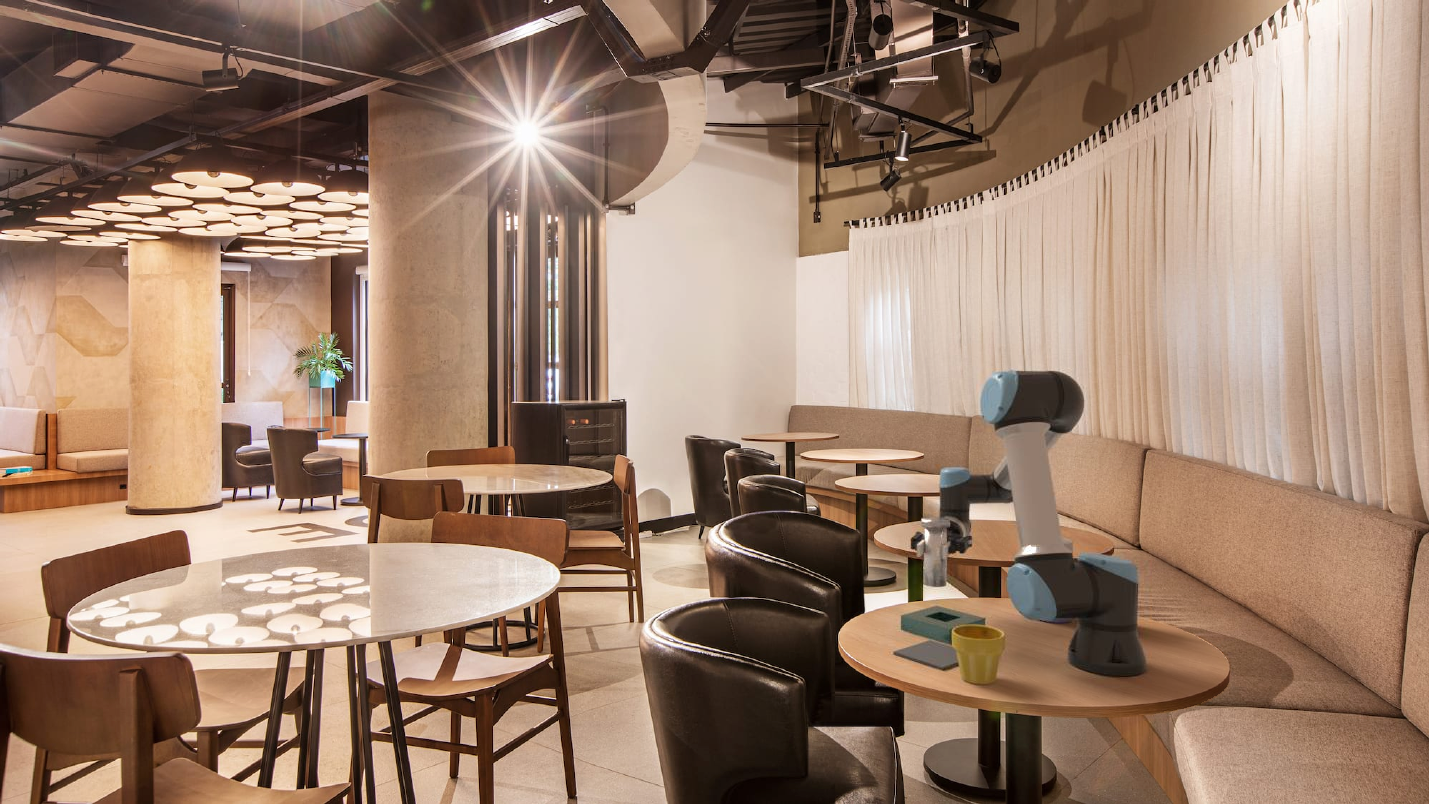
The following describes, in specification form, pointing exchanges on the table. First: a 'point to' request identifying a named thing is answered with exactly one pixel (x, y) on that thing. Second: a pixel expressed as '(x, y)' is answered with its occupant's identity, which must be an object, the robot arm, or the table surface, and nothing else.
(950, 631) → the housing
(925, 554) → the plug
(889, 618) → the table surface
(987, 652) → the plant pot
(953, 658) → the mat
